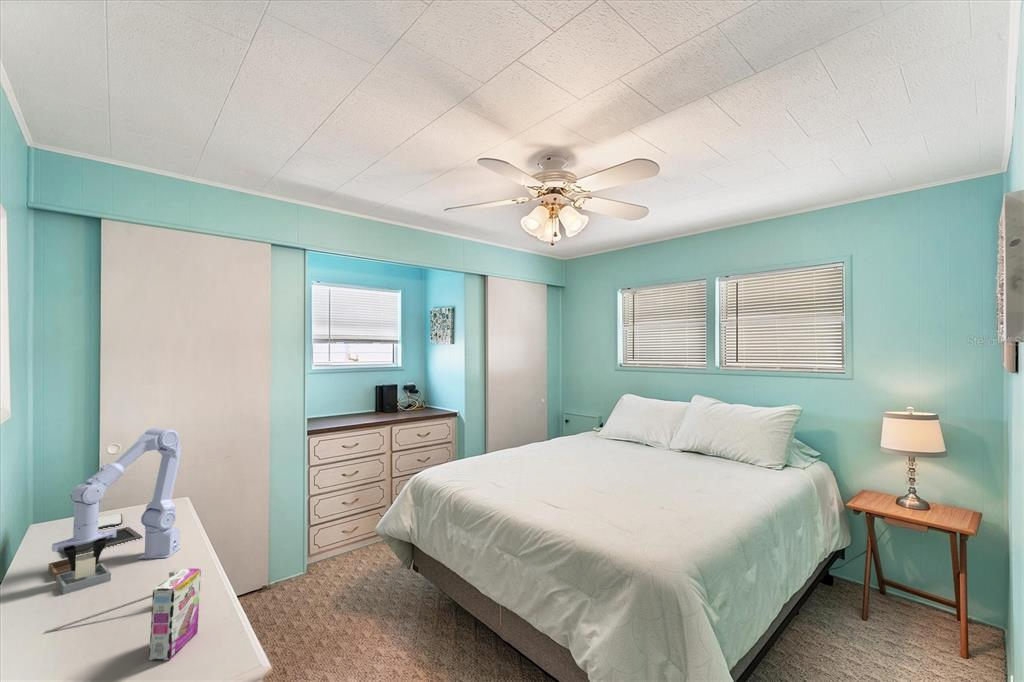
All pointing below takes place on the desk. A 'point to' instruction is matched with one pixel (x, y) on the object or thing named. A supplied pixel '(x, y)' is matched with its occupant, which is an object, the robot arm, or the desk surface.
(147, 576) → the desk surface
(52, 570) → the walnut tray
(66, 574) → the grey tray
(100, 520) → the phone case
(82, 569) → the sandstone block
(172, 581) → the candy bar box
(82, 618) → the brush
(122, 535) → the picture frame
